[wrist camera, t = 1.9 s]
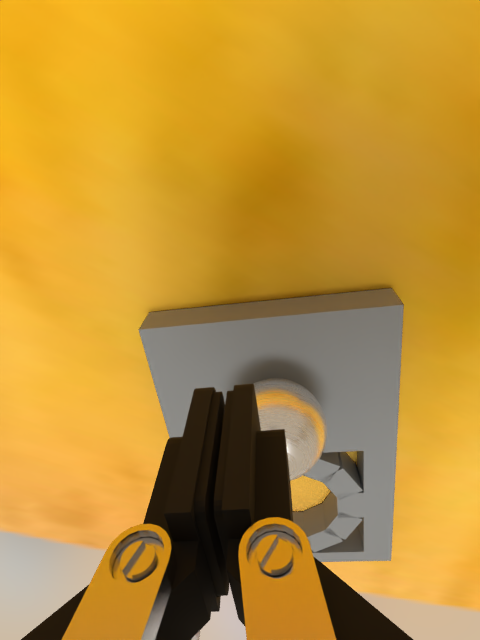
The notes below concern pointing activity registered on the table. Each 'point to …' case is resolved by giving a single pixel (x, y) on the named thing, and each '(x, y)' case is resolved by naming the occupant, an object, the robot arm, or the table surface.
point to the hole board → (317, 377)
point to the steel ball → (293, 421)
